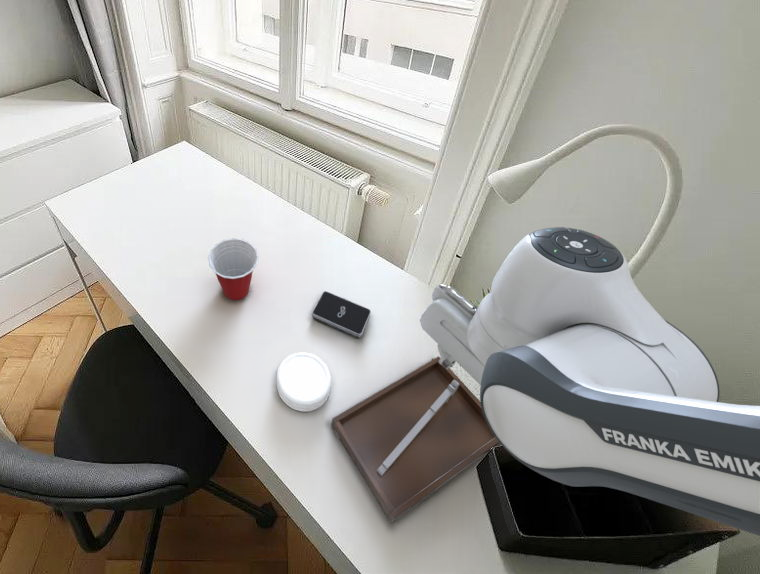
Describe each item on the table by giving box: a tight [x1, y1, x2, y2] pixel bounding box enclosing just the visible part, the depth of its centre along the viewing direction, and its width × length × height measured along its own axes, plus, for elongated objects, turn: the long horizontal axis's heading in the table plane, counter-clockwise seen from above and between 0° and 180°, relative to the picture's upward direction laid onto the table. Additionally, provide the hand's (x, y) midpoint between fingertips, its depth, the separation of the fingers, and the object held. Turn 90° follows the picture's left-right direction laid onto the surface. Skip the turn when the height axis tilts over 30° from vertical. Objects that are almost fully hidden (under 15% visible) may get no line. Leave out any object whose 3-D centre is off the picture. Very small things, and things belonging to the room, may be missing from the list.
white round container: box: [276, 352, 332, 413], centre depth 76 cm, size 10×10×4 cm
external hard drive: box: [311, 290, 372, 339], centre depth 88 cm, size 7×11×2 cm, turn 60°
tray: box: [330, 355, 501, 524], centre depth 69 cm, size 16×25×2 cm, turn 117°
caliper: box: [377, 380, 459, 476], centre depth 68 cm, size 20×1×6 cm, turn 128°
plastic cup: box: [207, 237, 260, 301], centre depth 90 cm, size 11×11×12 cm
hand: (473, 392), depth 56 cm, fingers open, 8 cm apart
